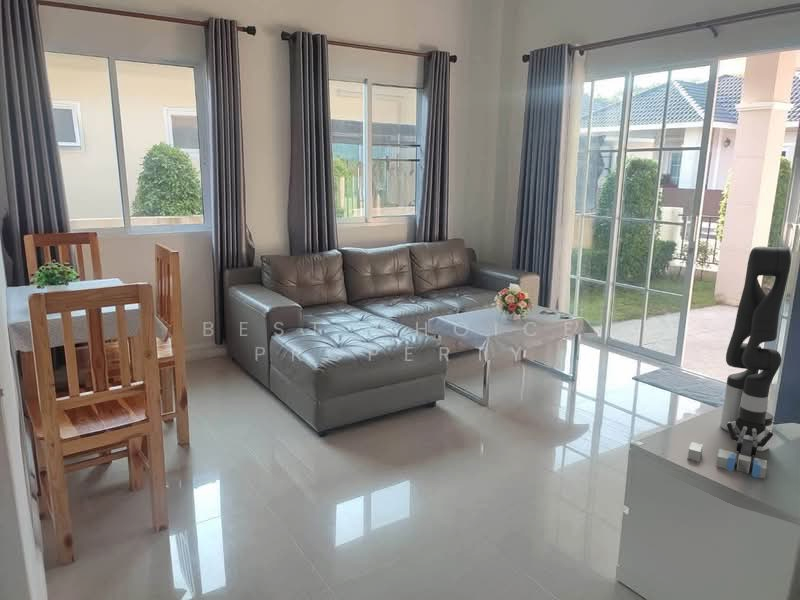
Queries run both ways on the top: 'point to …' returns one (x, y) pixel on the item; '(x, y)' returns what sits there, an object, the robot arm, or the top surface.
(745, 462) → the tall dark pillar
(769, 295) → the robot arm
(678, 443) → the top surface
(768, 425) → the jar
